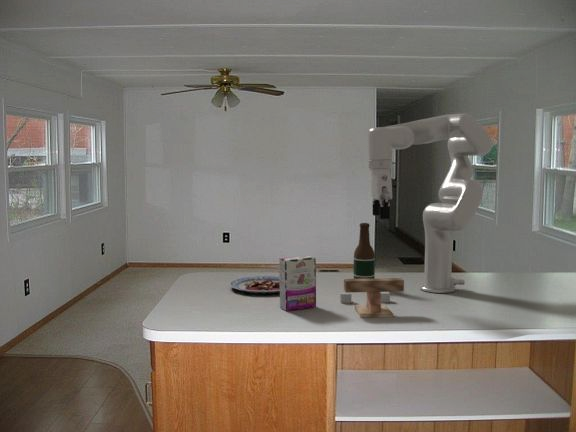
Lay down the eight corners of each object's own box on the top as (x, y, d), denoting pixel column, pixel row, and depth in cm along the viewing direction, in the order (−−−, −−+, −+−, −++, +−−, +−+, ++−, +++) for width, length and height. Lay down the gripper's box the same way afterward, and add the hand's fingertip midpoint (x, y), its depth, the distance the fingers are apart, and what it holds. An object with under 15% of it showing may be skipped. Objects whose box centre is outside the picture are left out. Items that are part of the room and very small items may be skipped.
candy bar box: (309, 304, 191) (309, 254, 190) (316, 307, 187) (316, 257, 185) (278, 308, 186) (278, 257, 185) (285, 311, 182) (285, 260, 180)
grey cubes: (388, 300, 196) (388, 291, 195) (389, 302, 193) (390, 293, 193) (339, 301, 195) (339, 292, 194) (340, 303, 192) (340, 294, 192)
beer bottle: (373, 285, 220) (374, 222, 217) (374, 289, 212) (375, 224, 209) (353, 284, 220) (353, 222, 218) (353, 289, 213) (354, 224, 210)
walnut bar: (400, 288, 182) (400, 277, 181) (403, 291, 178) (403, 280, 178) (343, 289, 180) (344, 278, 180) (345, 292, 177) (345, 281, 177)
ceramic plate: (313, 290, 211) (313, 282, 211) (252, 300, 197) (252, 292, 197) (274, 278, 233) (274, 271, 232) (217, 287, 218) (217, 279, 218)
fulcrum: (385, 308, 185) (385, 286, 185) (393, 316, 175) (393, 294, 175) (354, 309, 185) (354, 287, 184) (360, 317, 175) (360, 294, 174)
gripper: (398, 165, 182) (399, 219, 184) (384, 164, 199) (385, 213, 201) (375, 166, 181) (376, 220, 183) (363, 165, 198) (364, 214, 201)
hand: (381, 217), depth 192 cm, fingers open, 9 cm apart
